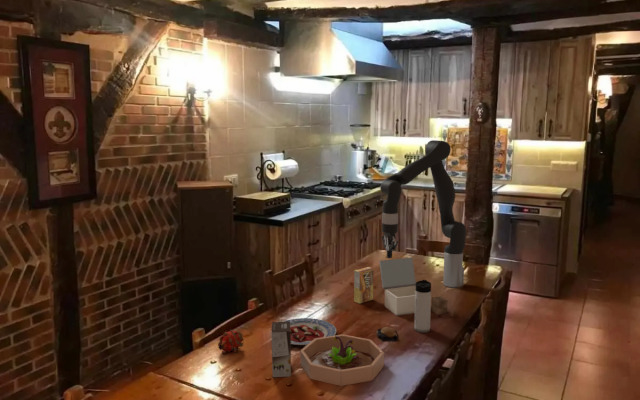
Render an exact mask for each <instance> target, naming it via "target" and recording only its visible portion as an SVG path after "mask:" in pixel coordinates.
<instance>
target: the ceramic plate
mask: <svg viewBox="0 0 640 400" xmlns="http://www.w3.org/2000/svg"><path fill="white" fill-rule="evenodd" d="M286 321H290V333H291V345H294V346H295V345H296V346H299V345H300V346H306V345H308V344H309V343H310V342H311V341H312V340H314V339H315V338H322V337H329V336H335V335H337V328H336V326H335V325H333V323H330V322H328V321H325V320H322V319H318V318H312V317H311V318H309V317H308V318H307V317H301V318H293V319H292V318H291V319H288V320H286ZM270 333H272V330H271V332H270Z"/></svg>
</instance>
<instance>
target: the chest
mask: <svg viewBox="0 0 640 400" xmlns="http://www.w3.org/2000/svg"><path fill="white" fill-rule="evenodd" d="M415 289H416V286H408V287H400V288H392V289H384V307H385V308H386V309H387V310H389V311H390V312H391V313H393V314H394V315H395V316H402V315H403V316H405V315H411V314H415Z"/></svg>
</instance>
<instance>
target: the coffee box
mask: <svg viewBox="0 0 640 400" xmlns="http://www.w3.org/2000/svg"><path fill="white" fill-rule="evenodd" d="M271 331H272V332H271V362H272V364H271V365H272V367H271V368H272V369H271V370H272V378H283V377H284V378H285V377H289V378H290V377H292V376H291V375H292V354H291V353H292V346H291V345H292V344H291V333H290V321H287V320H284V321H272V323H271Z"/></svg>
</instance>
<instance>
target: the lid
mask: <svg viewBox="0 0 640 400" xmlns="http://www.w3.org/2000/svg"><path fill="white" fill-rule="evenodd" d="M378 262H379V264H378V265H379V269H380V270H379V271H380V276H381V277H380V278H381V285H382V289H383V290H385V289H393V288H401V287H409V286H416V282H417V281H416V275H415V268H414V262H413V257H405V258H394V259H386V260H379V261H378Z"/></svg>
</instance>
